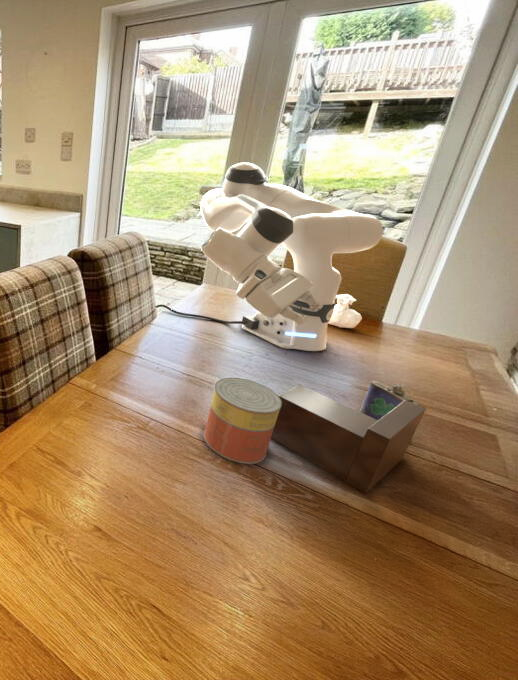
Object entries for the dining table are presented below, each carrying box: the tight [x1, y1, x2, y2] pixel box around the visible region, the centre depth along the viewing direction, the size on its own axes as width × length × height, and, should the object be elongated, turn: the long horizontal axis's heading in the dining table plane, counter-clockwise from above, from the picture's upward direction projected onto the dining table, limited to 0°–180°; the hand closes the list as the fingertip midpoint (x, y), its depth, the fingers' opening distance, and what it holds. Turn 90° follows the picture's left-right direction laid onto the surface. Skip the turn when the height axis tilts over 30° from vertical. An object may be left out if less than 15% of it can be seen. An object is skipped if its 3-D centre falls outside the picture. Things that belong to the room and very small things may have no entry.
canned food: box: [203, 377, 282, 465], centre depth 78 cm, size 11×11×12 cm
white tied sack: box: [328, 293, 363, 329], centre depth 132 cm, size 12×8×11 cm
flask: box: [358, 380, 420, 420], centre depth 83 cm, size 9×3×11 cm, turn 8°
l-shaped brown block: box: [270, 384, 427, 494], centre depth 77 cm, size 17×16×12 cm
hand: (312, 315), depth 91 cm, fingers open, 8 cm apart
